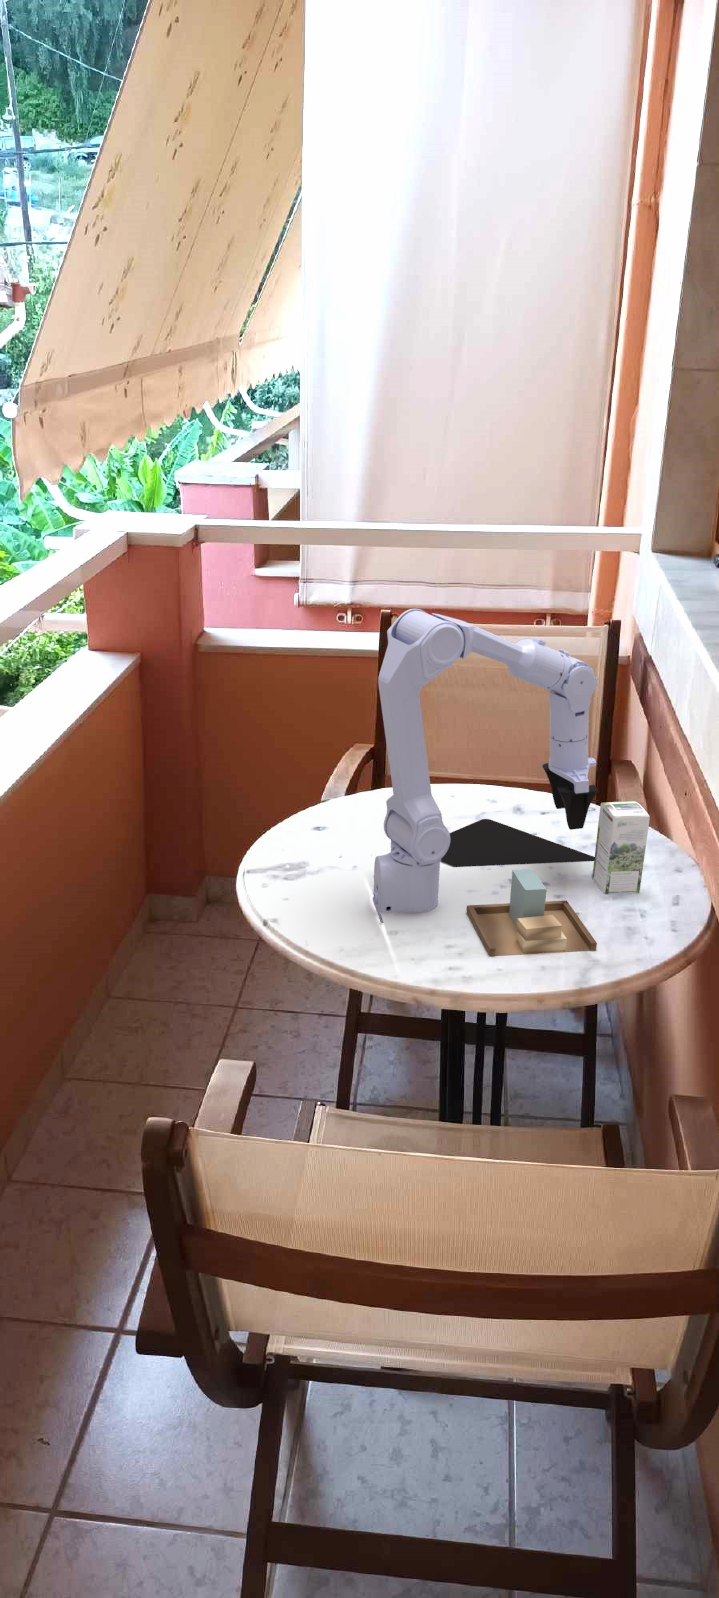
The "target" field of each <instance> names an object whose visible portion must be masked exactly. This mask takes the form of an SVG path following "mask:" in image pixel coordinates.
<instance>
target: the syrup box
mask: <svg viewBox="0 0 719 1598" xmlns="http://www.w3.org/2000/svg"><path fill="white" fill-rule="evenodd" d="M598 815H599V816H598V823H597V824H598V825H597V833H596V842H595V849H594V850H595V851H594V857H595V858H594V861H593V869H592V875H591V879H592V881H593V882H594V884H595V885H596V886H597V887H598V888H599V890H600V891H601V893H602V894H603V895H623V894H626V895H627V894H640V892H641V886H642V885H641V884H642V883H641V882H642V879H643V878H642V877H643V870H644V863H645V854H646V849H647V848H646V847H647V841H648V833H649V825H650V820H651V819H650V818H651V816H650V815H649V813H648V812H647V811H646V810H645V808H644V807H643V806H642V805H641V804H640V803H639V802H637V801H612V802H611V801H610V802H601V803H600V806H599V813H598Z"/></svg>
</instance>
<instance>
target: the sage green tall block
mask: <svg viewBox="0 0 719 1598" xmlns="http://www.w3.org/2000/svg"><path fill="white" fill-rule="evenodd" d="M510 883H511V884H510V897H509V898H510V899H509V903H510V908H509V915H510V917H511V918H512V920H513V922H514V923H515V925H516V927H517V918H527V917H537V916H544V910H545V902H546V897H547V888H546V886H545V885H544V884H543V882H542V881H541V879H540V877H539V876H538V875H537V873H536V872H535V870H534V869H532V868H531V869H512V872H511V882H510Z"/></svg>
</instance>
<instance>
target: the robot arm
mask: <svg viewBox="0 0 719 1598" xmlns="http://www.w3.org/2000/svg"><path fill="white" fill-rule="evenodd" d="M386 634H387V635H386V636H387V647H386V650H385V653H384V657H383V661H382V664H381V667H380V671H379V672H378V673H379V675H378V681H377V682H378V691H379V699H380V704H381V705H380V706H381V713H382V720H383V728H384V729H383V730H384V736H385V743H386V749H387V756H388V757H387V758H388V764H389V765H388V766H389V772H390V779H391V786H392V794H393V795H391V796H390V797H389V798H387V800H386V801H385V802H386V803H385V804H386V814H385V817H384V819H383V820H384V821H383V831H384V834H385V835H386V838H388V839H389V840H390V852H389V853H386V854H381V855H377V856H375V859H374V867H373V868H374V869H373V870H374V871H373V897H372V902H373V905H374V907H375V911H376V913H377V917H378V919H379V922H380V923H382V924H384V919H383V917H382V914H381V913H399V912H400V913H411V914H412V913H413V914H414V913H425V912H426V913H427V912H430V911H432V910H435V908H436V907H437V906H438V904H439V891H440V890H439V887H440V885H439V884H440V871H441V870H440V866H441V858H442V857H443V856H444V855H445V854H446V852H447V850H448V848H449V846H450V833H451V832H450V831H449V829H448V828H447V826H446V825H445V824H444V822H443V815H442V812H441V809H440V808H439V806H438V804H437V803H436V801H435V798H434V797H433V794H432V787H431V780H430V771H429V764H428V763H429V761H428V754H427V745H426V737H425V736H426V735H425V731H424V730H425V729H424V721H423V713H422V705H421V704H422V703H421V698H420V697H421V696H420V695H421V694H420V693H421V690H422V689H423V688H424V687H425V685H427V684H428V683H430V682H431V681H432V680H434V679H436V677H438V676H439V675H441V674H442V673H443V672H444V671H446V670H447V669H449V668H450V667H452V666H453V665H454V664H455V663H456V662H457V661H458V660H459V658H461V659H462V660H464V659H467V658H468V657H469V656H470V655H471V654H472V653H475V654H477V655H480V656H484V657H486V658H488V659H491V660H494V661H497V662H500V663H503V664H505V665H506V666H507V670H508V671H509V674H510V675H511V676H512V677H514V678H516V679H518V680H521V681H522V682H523V681H524V682H526V683H529V684H531V685H534V686H536V687H539V688H540V689H544V690H546V691H549V693H548V695H549V696H548V697H549V698H548V699H549V703H548V704H549V761H548V762H547V763H544V764H543V763H542V765H541V766H542V768H543V770H544V772H545V774H546V776H547V779H548V782H549V785H550V790H551V794H552V799H553V803H554V807H555V808H556V809H557V810H559V809H564V810H565V817H566V824H567V826H568V829H569V830H570V831H572V830H579V829H580V830H581V829H584V826H585V823H586V818H587V815H588V811H589V809H590V805H591V803H592V801H593V800H594V798H595V796H596V795H597V794H598V787H597V786H596V785H595V784H590V780H589V771H590V768H592V767H593V768H594V767H596V766H597V761H596V759H595V758H594V757H589V727H590V726H589V723H590V722H589V721H590V719H589V715H590V714H589V713H590V712H589V710H590V706H591V703H592V702H591V701H592V695H593V694H594V692H595V690H596V688H597V686H598V683H599V682H598V681H599V678H598V677H596V676H595V671H594V669H593V668H592V666H591V665H590V664H589V663H587V662H586V661H583V660H580V659H578V658H575V657H573V656H570V652H569V651H567V650H564V649H559V650H556V649H553V648H551V647H549V646H547V645H546V643H547V642H546V641H545V640H542V639H541V638H537V637H533V639H530V638H525V639H521V640H519V641H518V642H516V643H514V642H512V641H510V640H508V639H505V638H503V637H502V636H498V635H496V634H494V633H492V632H490V631H488V630H485V629H483V628H481V627H478V626H477V625H474V624H471V623H469V622H467V621H465V620H461V619H458V618H454V617H451V616H447V615H443V614H439V613H433V612H431V614H429V613H428V612H426V611H425V610H423V609H420V608H410V609H408V610H405V611H404V612H402V613H401V614H399V616H398V617H397V619H395V621H394V622H393V623H392V624H391V625H390V627H389V628H388V629H387V631H386ZM388 907H389V908H388ZM387 908H388V909H387Z"/></svg>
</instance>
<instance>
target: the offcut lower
mask: <svg viewBox="0 0 719 1598" xmlns="http://www.w3.org/2000/svg"><path fill="white" fill-rule="evenodd" d="M516 941H517V943H518V945H519V947H520V948H521V950H522V952H523V953H527V952H545V951H563V950H566V941H567V938H566V937H565V935H564V934H563V932H562V933H561V937H559V938H549V939H540V940H531V941H525V940H524V939H523V938H522V936H521V935H520V934H519V933H518V931H517V936H516Z"/></svg>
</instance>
